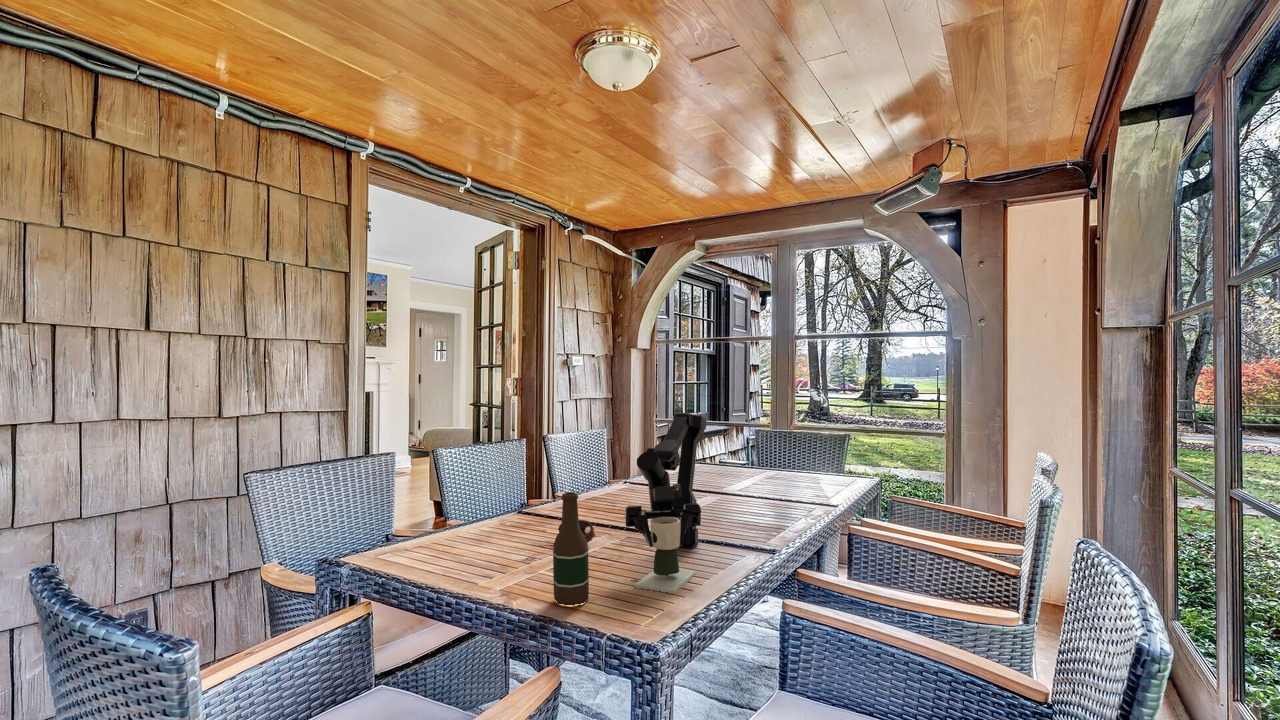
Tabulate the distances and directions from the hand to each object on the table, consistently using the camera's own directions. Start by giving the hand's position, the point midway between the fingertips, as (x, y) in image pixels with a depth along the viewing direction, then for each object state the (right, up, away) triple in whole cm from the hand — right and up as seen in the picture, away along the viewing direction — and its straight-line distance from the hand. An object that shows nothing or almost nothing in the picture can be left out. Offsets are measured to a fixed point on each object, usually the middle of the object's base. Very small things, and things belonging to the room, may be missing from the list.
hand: (666, 546), depth 143 cm
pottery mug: (-25, -10, +34) cm, 43 cm away
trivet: (0, -9, +1) cm, 9 cm away
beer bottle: (-22, -9, -11) cm, 26 cm away
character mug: (0, -7, +1) cm, 7 cm away
